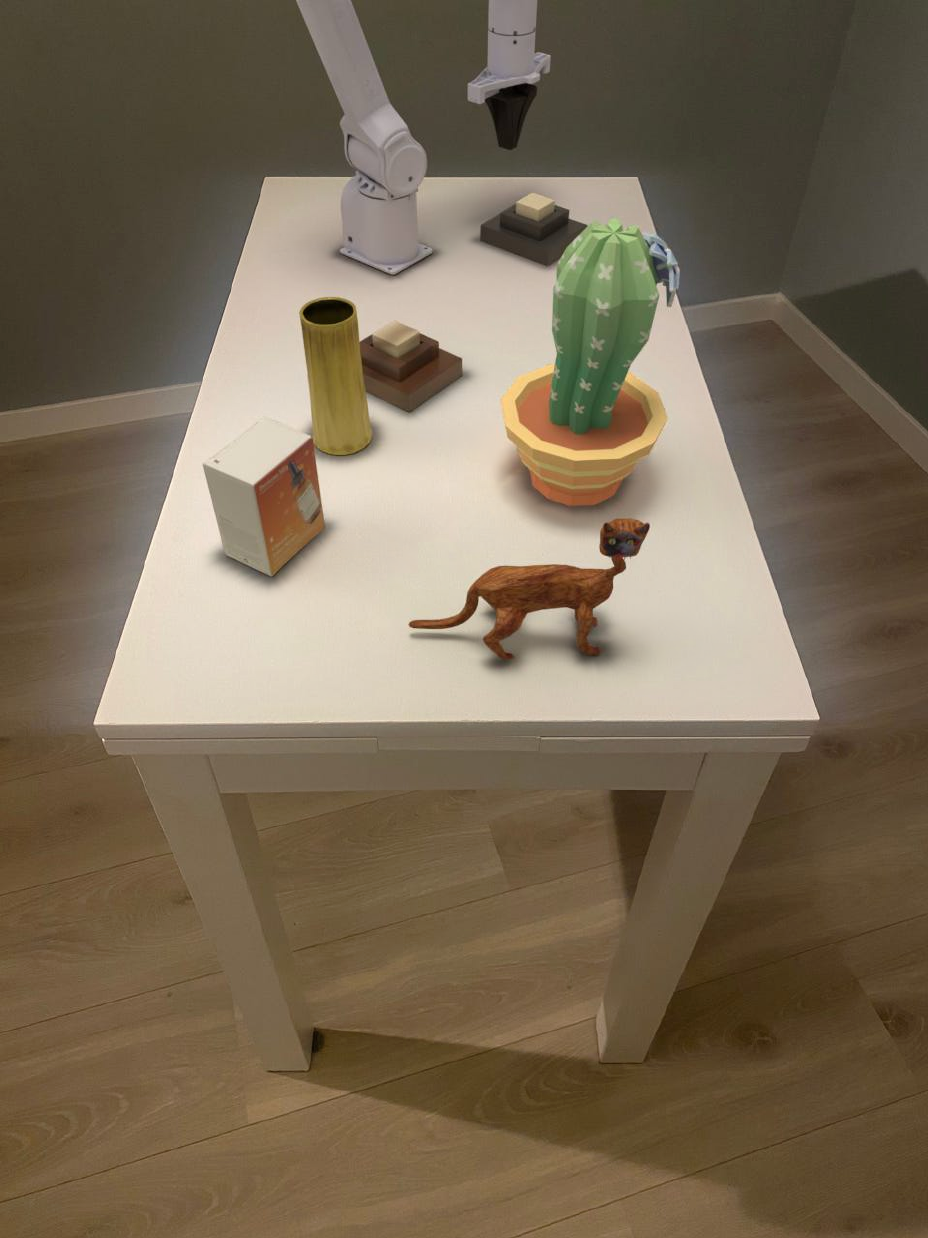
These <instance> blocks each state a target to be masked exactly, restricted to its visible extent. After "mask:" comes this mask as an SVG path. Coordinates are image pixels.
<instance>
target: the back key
mask: <svg viewBox="0 0 928 1238" xmlns="http://www.w3.org/2000/svg"><path fill="white" fill-rule="evenodd" d="M515 204H516V214H519V215H521V216H524V217H527V218H530V219H533V220H535V221H538V222H539V221H541V220H542V219H544V218H546V217H547V216H549V215H550V214H552V213H554V205H556V200H555V199H552V198H549V197H547V196H545V195H541V194H538V193H536V192H531V193H529V194H528V195H526V196H524V197H522V198H521V199H519V200H517V201H516V202H515Z"/></svg>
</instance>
